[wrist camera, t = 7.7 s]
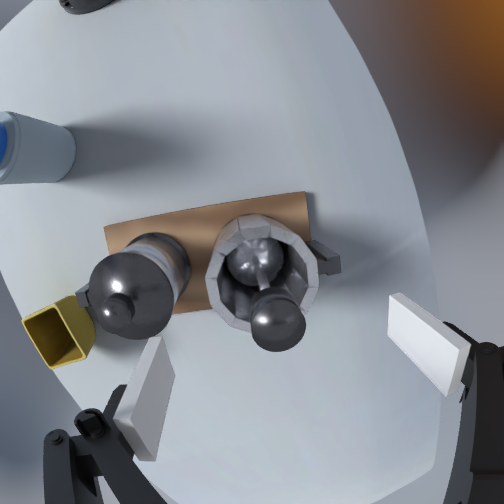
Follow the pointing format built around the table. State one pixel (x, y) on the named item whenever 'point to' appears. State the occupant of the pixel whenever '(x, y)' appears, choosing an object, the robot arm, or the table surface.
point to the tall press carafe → (289, 278)
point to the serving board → (209, 234)
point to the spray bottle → (33, 150)
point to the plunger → (267, 294)
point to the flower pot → (61, 332)
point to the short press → (138, 286)
